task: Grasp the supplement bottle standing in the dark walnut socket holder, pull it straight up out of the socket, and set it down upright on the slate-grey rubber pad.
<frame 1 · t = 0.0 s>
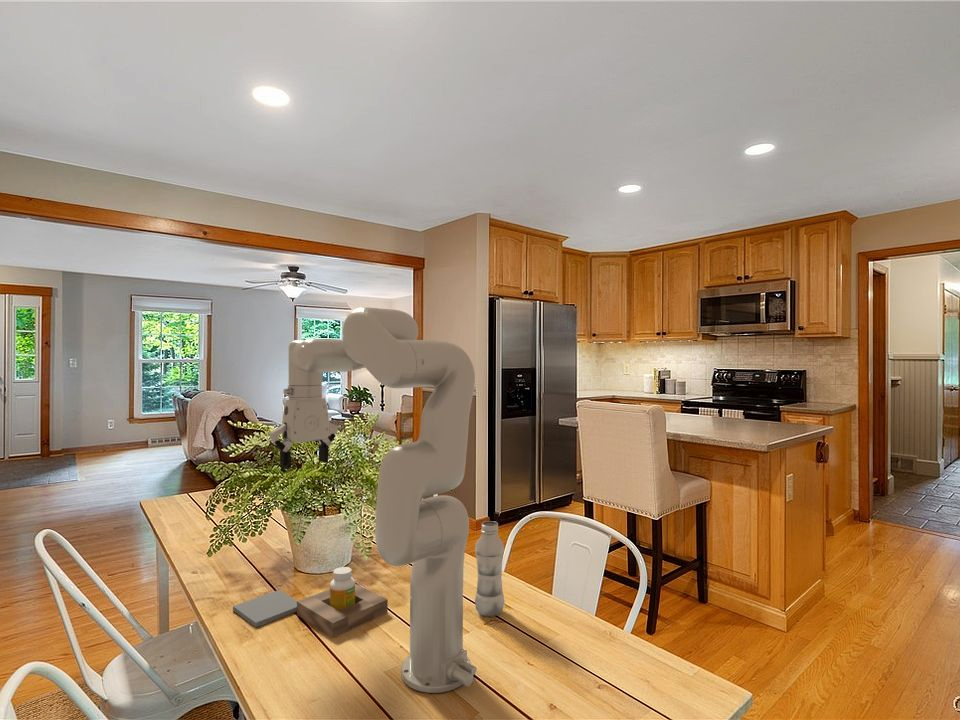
hand: (305, 464, 125), 31 cm above the table, tool pointing down, fingers open, 9 cm apart
plastic bottle: (489, 614, 117), on the table
supplement bottle: (342, 614, 117), resting in socket holder
grey pad: (268, 609, 118), on the table
socket holder: (342, 613, 117), on the table
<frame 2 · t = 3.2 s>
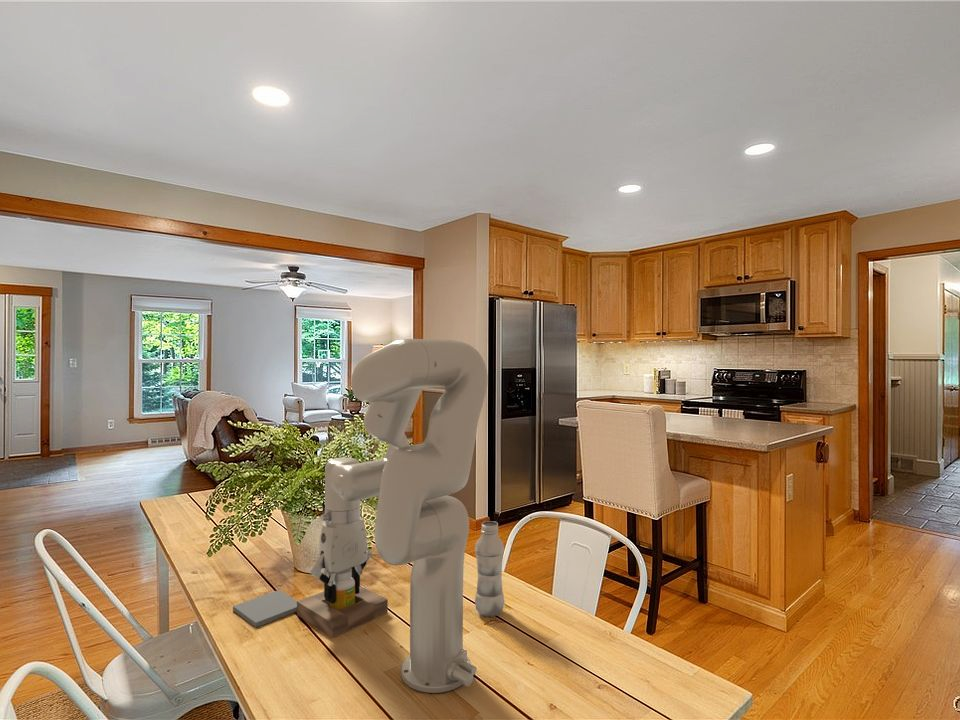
hand: (342, 595, 117), 4 cm above the table, tool pointing down, fingers closed on supplement bottle, 5 cm apart
supplement bottle: (342, 614, 117), resting in socket holder, touching gripper
everything else where it was.
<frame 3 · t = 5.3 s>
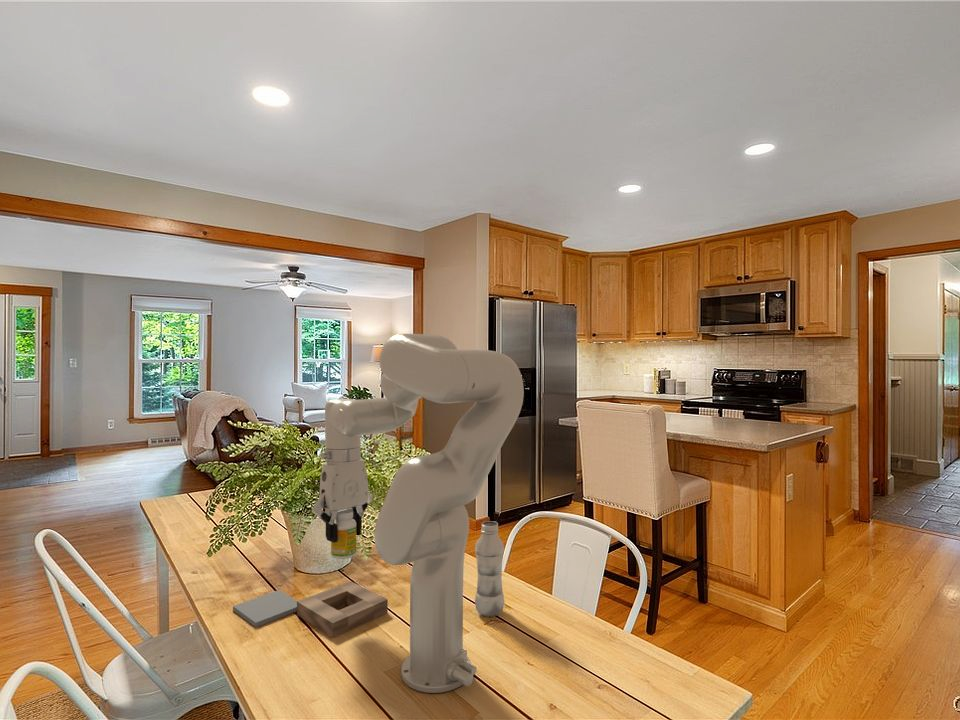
hand: (344, 536, 116), 17 cm above the table, tool pointing down, fingers closed on supplement bottle, 5 cm apart
supplement bottle: (343, 555, 116), point 13 cm above the table, touching gripper
everything else where it was.
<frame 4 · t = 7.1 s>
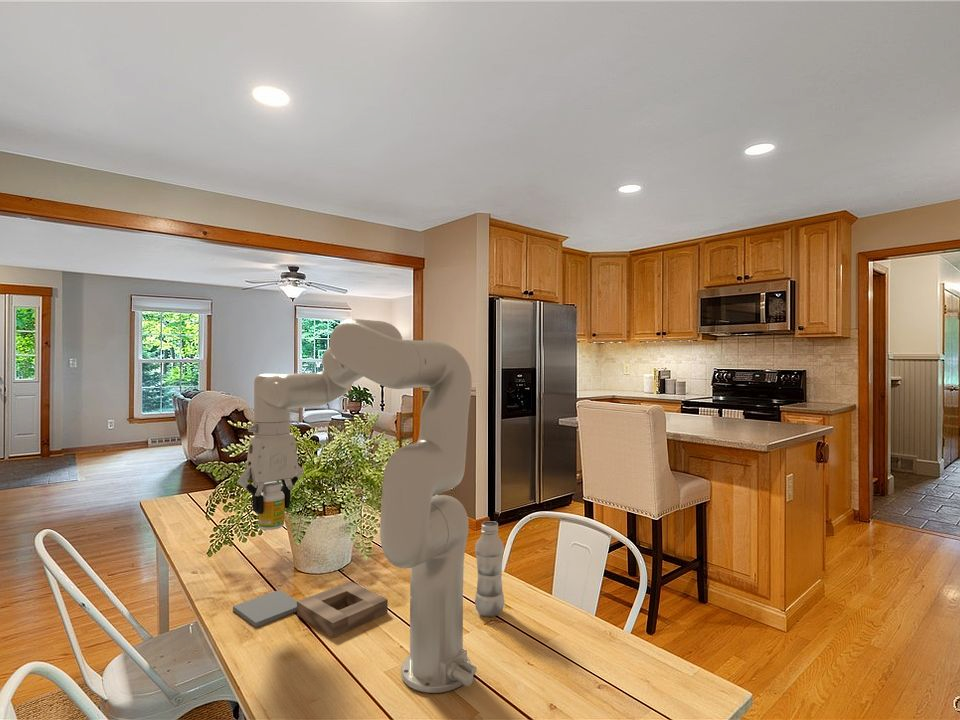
hand: (271, 508, 118), 23 cm above the table, tool pointing down, fingers closed on supplement bottle, 5 cm apart
supplement bottle: (271, 527, 118), point 19 cm above the table, touching gripper
everything else where it was.
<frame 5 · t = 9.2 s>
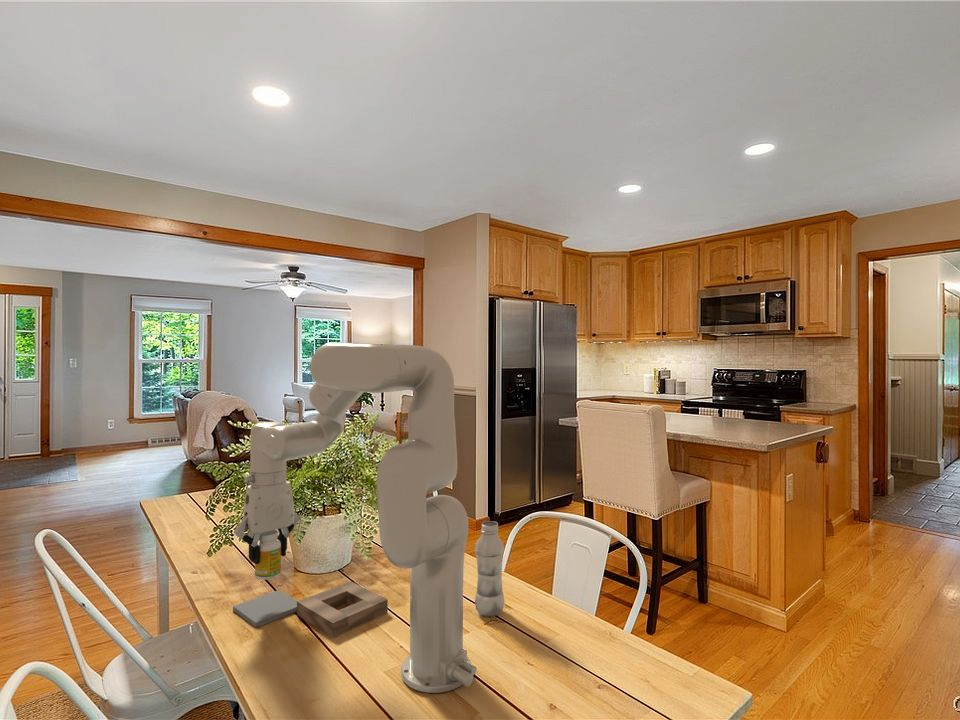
hand: (268, 557, 118), 12 cm above the table, tool pointing down, fingers closed on supplement bottle, 5 cm apart
supplement bottle: (267, 576, 119), point 8 cm above the table, touching gripper
everything else where it was.
when the fingers open (6 cm above the table, at t = 11.2 s): supplement bottle stays where it is, resting on grey pad.
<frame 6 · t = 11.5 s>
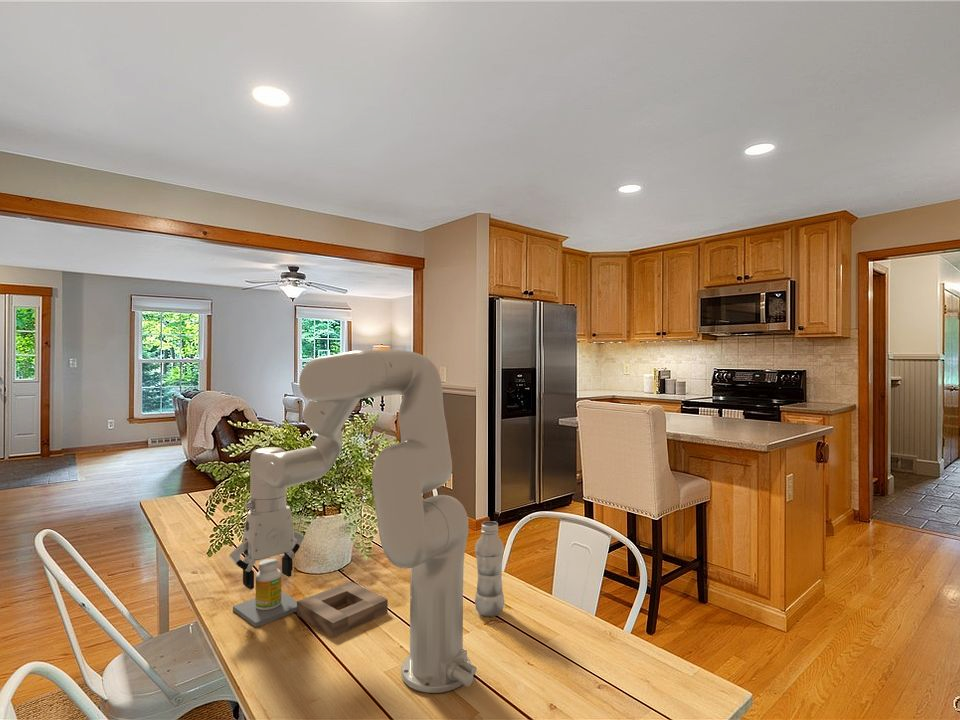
hand: (268, 580, 118), 7 cm above the table, tool pointing down, fingers open, 8 cm apart
supplement bottle: (268, 606, 118), point 1 cm above the table, touching grey pad
everything else where it was.
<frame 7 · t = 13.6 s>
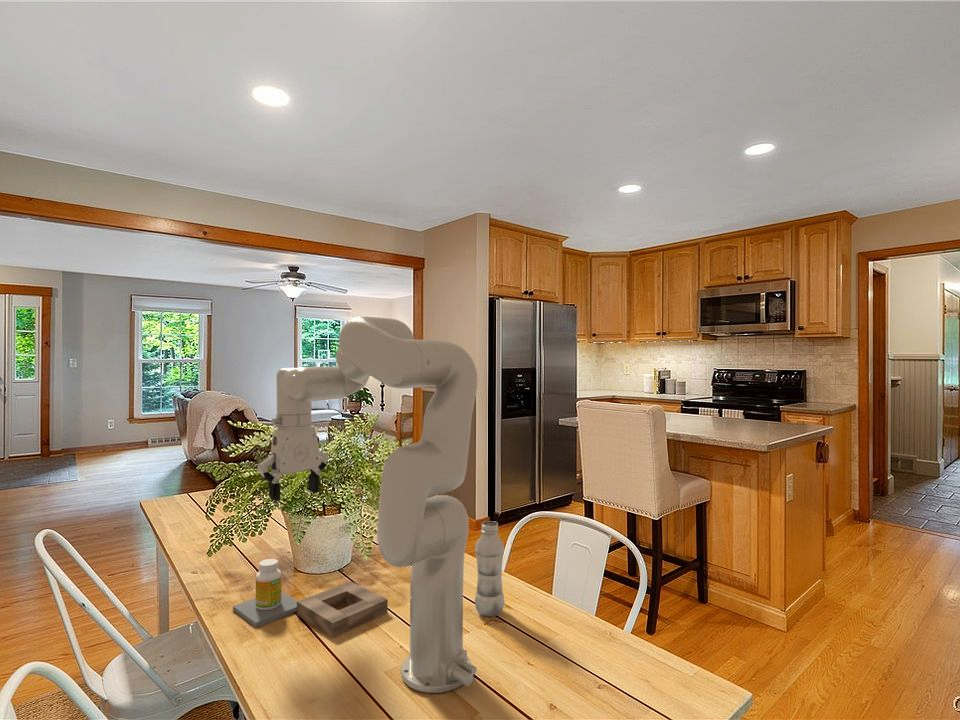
hand: (294, 495, 121), 25 cm above the table, tool pointing down, fingers open, 9 cm apart
nothing on the table moved.
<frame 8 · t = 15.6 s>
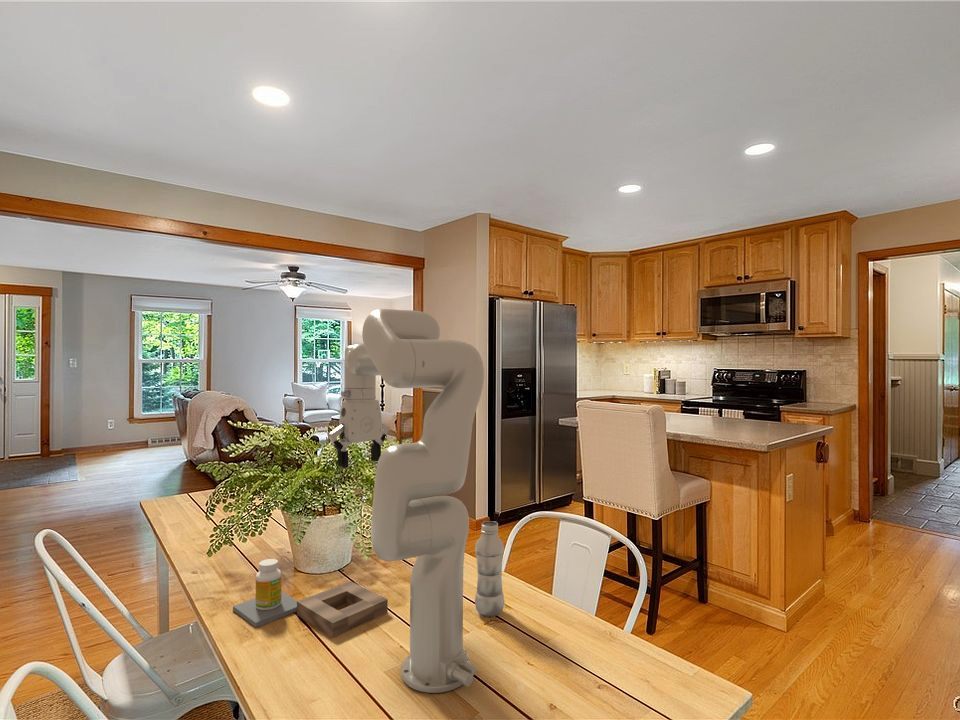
hand: (359, 464, 131), 30 cm above the table, tool pointing down, fingers open, 9 cm apart
nothing on the table moved.
at the end: supplement bottle inside the target area on the grey pad (0.0 cm from its centre), point 0.8 cm above the grey pad's base; supplement bottle tilted 0°; the gripper is holding nothing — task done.
